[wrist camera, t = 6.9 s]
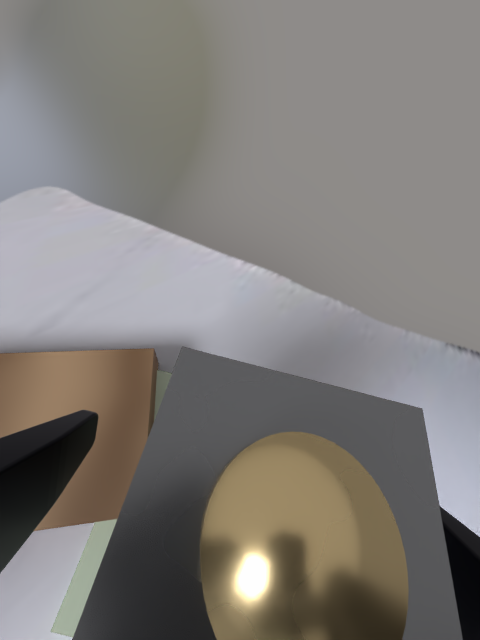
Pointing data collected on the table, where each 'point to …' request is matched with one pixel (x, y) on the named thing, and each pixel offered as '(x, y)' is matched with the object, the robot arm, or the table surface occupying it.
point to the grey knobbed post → (275, 517)
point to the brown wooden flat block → (93, 395)
